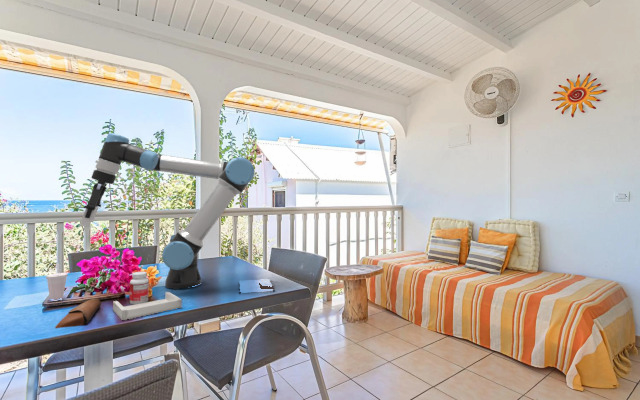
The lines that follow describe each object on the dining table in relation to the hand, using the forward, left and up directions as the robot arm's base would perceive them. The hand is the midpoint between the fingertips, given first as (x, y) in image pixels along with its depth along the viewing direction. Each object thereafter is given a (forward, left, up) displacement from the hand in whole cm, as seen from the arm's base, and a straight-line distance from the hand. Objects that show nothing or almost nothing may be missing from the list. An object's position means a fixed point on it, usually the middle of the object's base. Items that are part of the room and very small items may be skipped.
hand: (86, 223), depth 123 cm
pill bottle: (-14, +19, -29) cm, 37 cm away
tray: (-14, +29, -29) cm, 43 cm away
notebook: (-59, +29, -30) cm, 72 cm away
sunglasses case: (+4, +22, -30) cm, 38 cm away
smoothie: (+8, -4, -29) cm, 31 cm away
